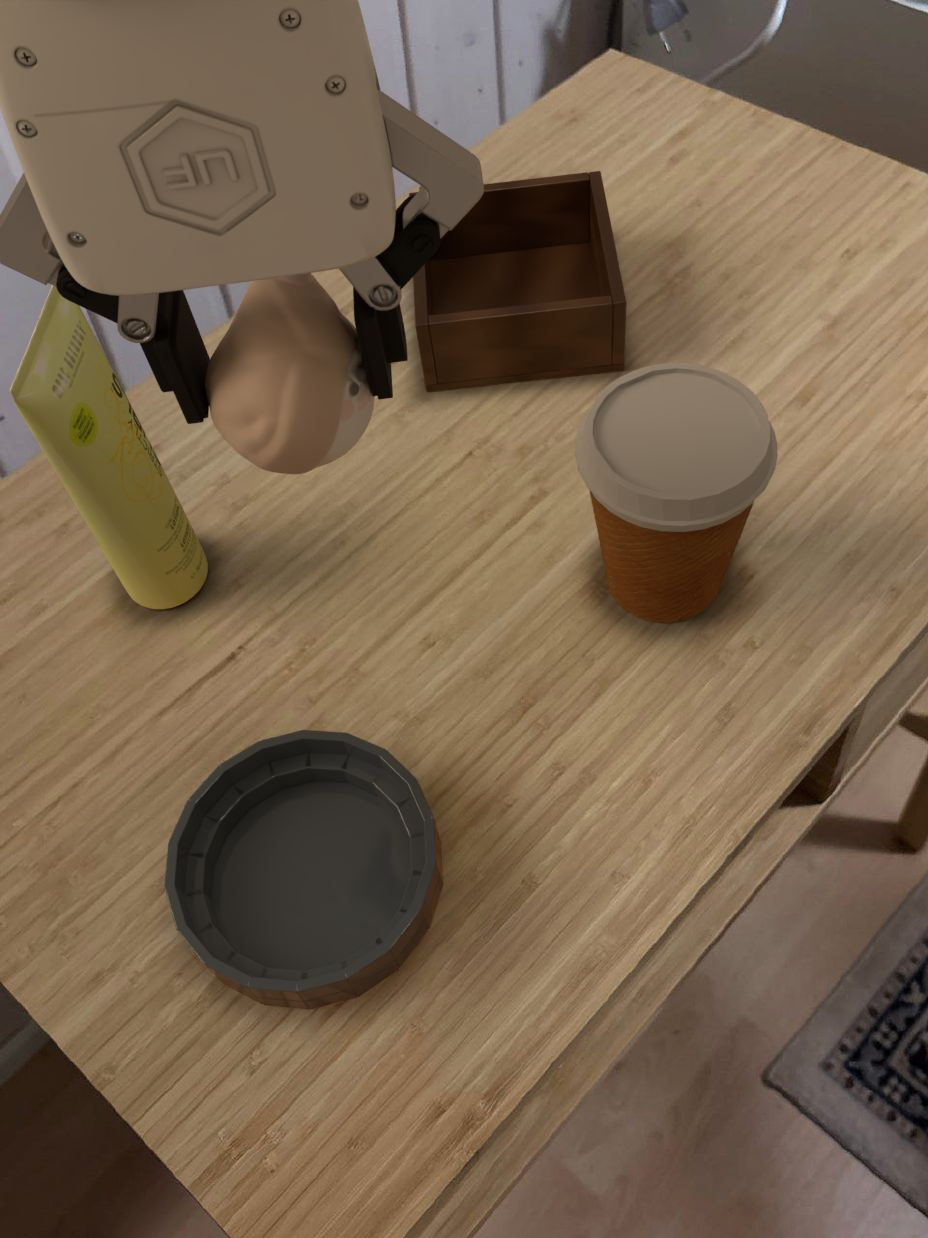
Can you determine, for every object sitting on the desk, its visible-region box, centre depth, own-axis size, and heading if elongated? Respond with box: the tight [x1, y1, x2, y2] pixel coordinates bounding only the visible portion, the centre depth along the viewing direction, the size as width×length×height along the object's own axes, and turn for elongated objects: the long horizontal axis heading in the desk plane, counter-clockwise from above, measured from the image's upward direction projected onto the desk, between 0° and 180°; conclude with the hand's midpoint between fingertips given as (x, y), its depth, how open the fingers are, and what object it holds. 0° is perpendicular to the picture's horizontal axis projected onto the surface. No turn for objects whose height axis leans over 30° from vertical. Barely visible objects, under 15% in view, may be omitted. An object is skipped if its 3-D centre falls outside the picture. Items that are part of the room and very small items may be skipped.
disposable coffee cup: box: [574, 362, 779, 624], centre depth 59 cm, size 10×10×12 cm
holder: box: [408, 170, 627, 392], centre depth 74 cm, size 13×13×6 cm
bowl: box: [164, 729, 444, 1011], centre depth 54 cm, size 13×13×4 cm
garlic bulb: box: [205, 273, 376, 475], centre depth 41 cm, size 7×6×8 cm
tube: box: [9, 285, 209, 610], centre depth 58 cm, size 6×5×20 cm
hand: (290, 380), depth 42 cm, fingers closed on garlic bulb, 6 cm apart
